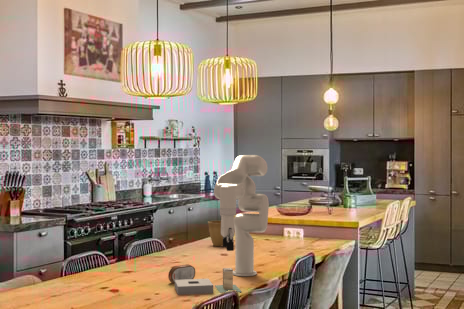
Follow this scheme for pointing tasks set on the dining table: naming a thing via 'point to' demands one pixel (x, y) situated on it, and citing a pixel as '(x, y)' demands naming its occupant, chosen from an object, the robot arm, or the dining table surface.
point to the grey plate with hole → (193, 286)
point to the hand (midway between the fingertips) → (228, 248)
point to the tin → (181, 273)
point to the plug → (227, 278)
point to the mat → (221, 289)
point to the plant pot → (215, 233)
